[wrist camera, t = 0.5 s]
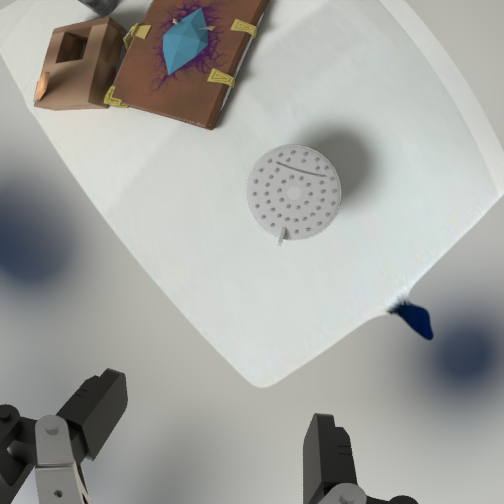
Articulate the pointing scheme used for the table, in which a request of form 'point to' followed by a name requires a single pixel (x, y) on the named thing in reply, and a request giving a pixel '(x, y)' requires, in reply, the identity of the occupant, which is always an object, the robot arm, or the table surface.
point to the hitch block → (81, 65)
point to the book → (186, 58)
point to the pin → (100, 6)
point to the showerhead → (293, 192)
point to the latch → (41, 86)
